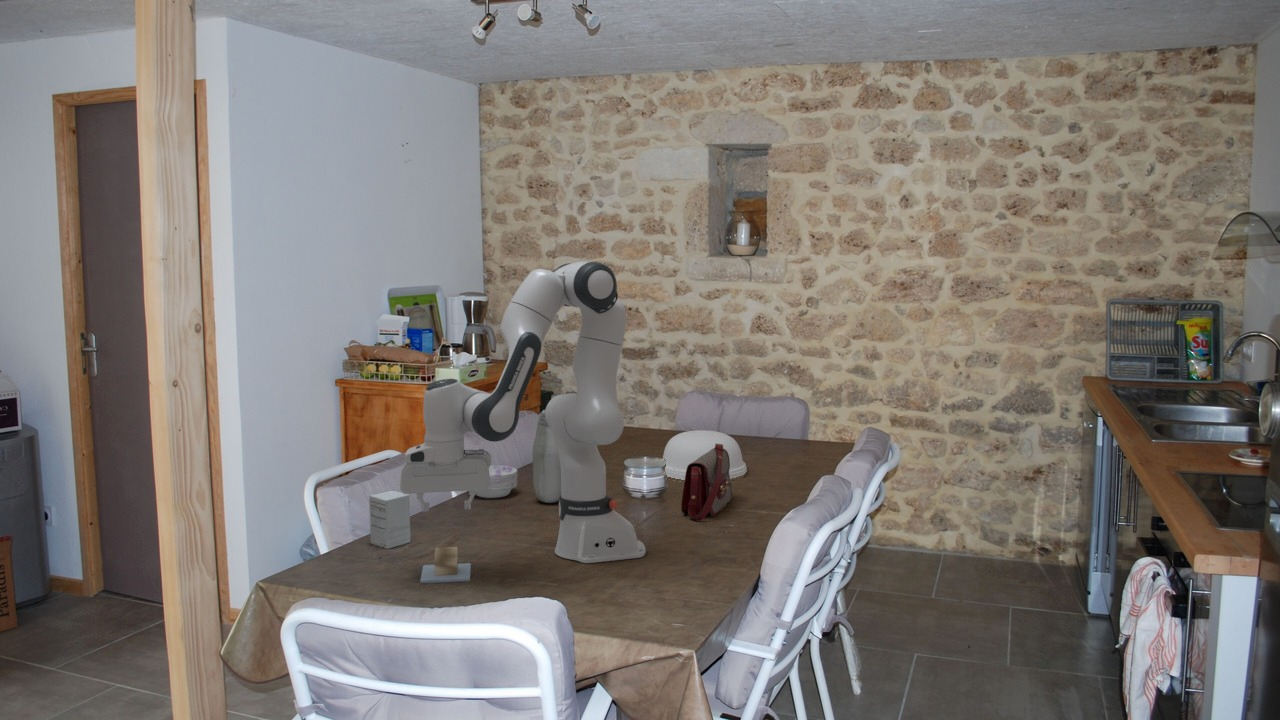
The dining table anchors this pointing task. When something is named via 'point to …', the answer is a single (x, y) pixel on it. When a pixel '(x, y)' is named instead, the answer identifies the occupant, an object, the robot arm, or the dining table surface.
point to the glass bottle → (546, 463)
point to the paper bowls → (499, 482)
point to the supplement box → (389, 519)
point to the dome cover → (700, 452)
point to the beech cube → (446, 561)
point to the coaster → (430, 577)
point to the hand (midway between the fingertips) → (446, 510)
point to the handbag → (707, 484)
